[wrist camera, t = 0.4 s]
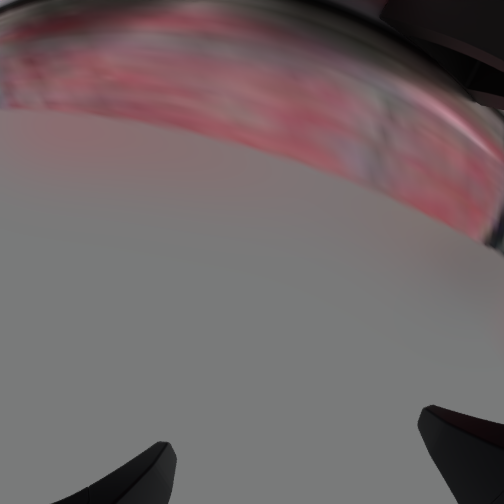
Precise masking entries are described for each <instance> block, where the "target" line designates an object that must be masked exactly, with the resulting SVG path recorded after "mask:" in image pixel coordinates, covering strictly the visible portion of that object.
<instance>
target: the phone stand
mask: <svg viewBox="0 0 504 504" xmlns="http://www.w3.org/2000/svg"><path fill="white" fill-rule="evenodd" d="M380 19H382V20H383V21H384V22H386V23H387V24H389V25H390V26H392V27H393V28H395V29H396V30H397V31H399V32H400V33H401V34H403V35H404V36H405V37H407V38H408V39H409V40H411V41H412V42H413V43H415V44H416V45H417V46H418V47H420V48H421V49H422V50H423V51H424V52H426V53H427V54H428V55H429V56H430V57H431V58H433V59H434V60H436V61H437V62H438V64H439V65H440V66H442V67H443V68H444V69H445V70H446V71H447V72H448V73H449V74H450V75H451V76H452V77H453V78H454V79H455V80H456V81H457V82H458V83H459V84H460V85H461V86H462V87H463V88H464V89H465V90H466V91H467V92H468V93H469V94H470V95H471V97H472V98H473V99H474V100H475V101H476V102H477V103H478V104H480V105H482V106H487V107H492V108H496V109H501V110H504V0H389V1H388V3H387V5H386V6H385V8H384V10H383V12H382V14H381V15H380Z"/></svg>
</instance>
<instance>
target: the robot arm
mask: <svg viewBox="0 0 504 504" xmlns="http://www.w3.org/2000/svg"><path fill="white" fill-rule="evenodd" d="M418 429H419V431H420V433H421V436H422V438H423V440H424V443H425V445H426V447H427V450H428V452H429V454H430V456H431V457H432V459H433V461H434V463H435V464H436V466H437V468H438V469H439V471H440V473H441V474H442V476H443V478H444V479H445V481H446V483H447V485H448V486H449V488H450V490H451V492H452V493H453V495H454V497H455V499H456V500H457V502H458V504H504V424H500V423H496V422H492V421H488V420H483V419H480V418H476V417H472V416H469V415H465V414H462V413H458V412H455V411H451V410H448V409H445V408H441V407H438V406H435V405H430V406H427V407H425V408H423V409H422V412H421V414H420V417H419V420H418ZM176 462H177V458H176V454H175V452H174V450H173V448H172V446H171V444H170V443H169V442H161V441H160V442H157V443H155V444H154V445H152V446H151V447H150V448H148V449H147V450H145V451H144V452H142V453H141V454H139V455H138V456H136V457H135V458H133V459H132V460H130V461H129V462H127V463H126V464H124V465H123V466H121V467H120V468H118V469H116V470H115V471H113V472H112V473H110V474H108V475H107V476H105V477H104V478H102V479H100V480H99V481H97V482H95V483H93V484H92V485H90V486H89V487H86V488H84V489H82V490H81V491H79V492H77V493H75V494H73V495H71V496H69V497H66V498H64V499H62V500H60V501H57V502H54V503H52V504H168V502H169V499H170V496H171V492H172V487H173V481H174V474H175V468H176Z"/></svg>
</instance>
